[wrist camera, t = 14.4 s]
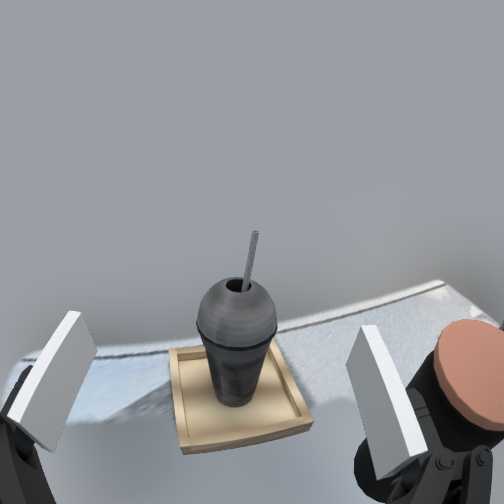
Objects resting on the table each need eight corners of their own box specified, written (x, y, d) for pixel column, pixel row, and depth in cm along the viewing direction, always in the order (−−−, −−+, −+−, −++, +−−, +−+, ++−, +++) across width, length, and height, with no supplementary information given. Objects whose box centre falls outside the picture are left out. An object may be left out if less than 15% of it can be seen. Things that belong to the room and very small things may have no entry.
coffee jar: (331, 487, 19) (426, 397, 11) (372, 418, 27) (442, 303, 18) (411, 516, 13) (542, 436, 5) (438, 444, 21) (530, 340, 13)
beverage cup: (194, 378, 31) (181, 222, 22) (248, 362, 34) (261, 212, 25) (217, 425, 25) (210, 264, 16) (276, 404, 28) (310, 246, 19)
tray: (308, 430, 26) (314, 421, 25) (183, 454, 22) (179, 446, 21) (270, 348, 38) (272, 336, 37) (171, 361, 34) (168, 348, 33)
